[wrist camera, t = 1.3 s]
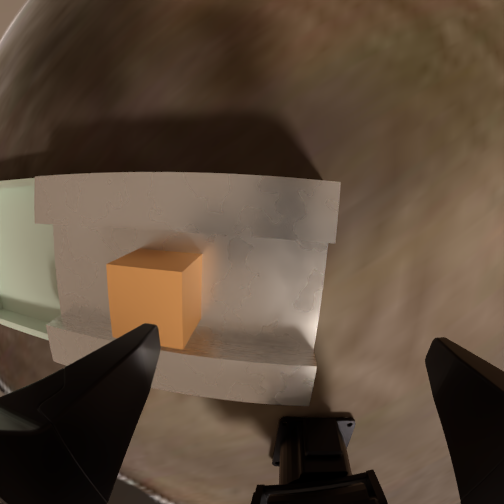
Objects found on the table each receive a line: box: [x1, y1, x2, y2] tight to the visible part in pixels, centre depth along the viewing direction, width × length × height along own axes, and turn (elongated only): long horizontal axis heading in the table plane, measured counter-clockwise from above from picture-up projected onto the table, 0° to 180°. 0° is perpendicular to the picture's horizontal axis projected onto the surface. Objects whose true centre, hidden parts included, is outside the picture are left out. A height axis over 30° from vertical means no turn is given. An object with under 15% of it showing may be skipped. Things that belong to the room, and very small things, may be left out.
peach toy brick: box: [106, 249, 202, 350], centre depth 16 cm, size 4×4×4 cm
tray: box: [0, 178, 61, 340], centre depth 21 cm, size 13×11×2 cm
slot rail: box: [34, 172, 341, 406], centre depth 19 cm, size 13×18×5 cm
